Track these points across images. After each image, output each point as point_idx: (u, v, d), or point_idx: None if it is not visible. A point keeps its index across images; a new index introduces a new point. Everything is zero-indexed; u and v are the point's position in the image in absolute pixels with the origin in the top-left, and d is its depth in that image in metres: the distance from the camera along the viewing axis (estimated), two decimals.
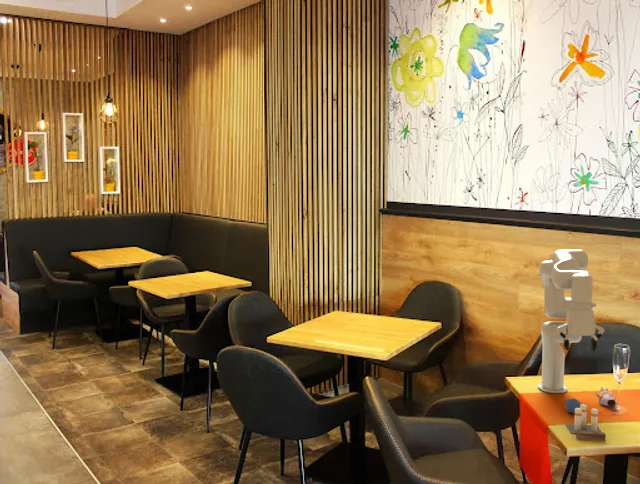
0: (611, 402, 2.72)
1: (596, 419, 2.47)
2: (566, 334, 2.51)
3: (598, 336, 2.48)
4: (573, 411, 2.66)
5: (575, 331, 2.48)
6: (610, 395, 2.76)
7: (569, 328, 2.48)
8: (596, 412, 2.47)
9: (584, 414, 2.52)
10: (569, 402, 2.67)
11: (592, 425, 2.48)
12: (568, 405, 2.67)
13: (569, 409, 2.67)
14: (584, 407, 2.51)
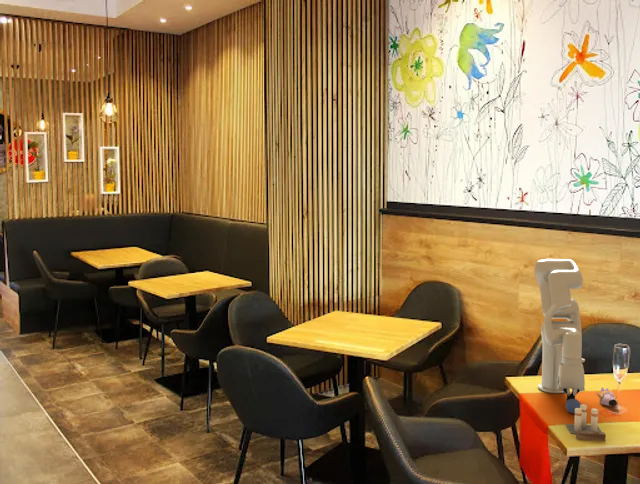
0: (612, 402, 2.71)
1: (596, 419, 2.47)
2: None
3: None
4: (573, 411, 2.66)
5: (566, 384, 2.70)
6: (611, 395, 2.76)
7: (561, 381, 2.71)
8: (596, 412, 2.47)
9: (584, 414, 2.52)
10: (569, 402, 2.67)
11: (592, 425, 2.48)
12: (568, 405, 2.67)
13: (569, 409, 2.67)
14: (584, 407, 2.51)
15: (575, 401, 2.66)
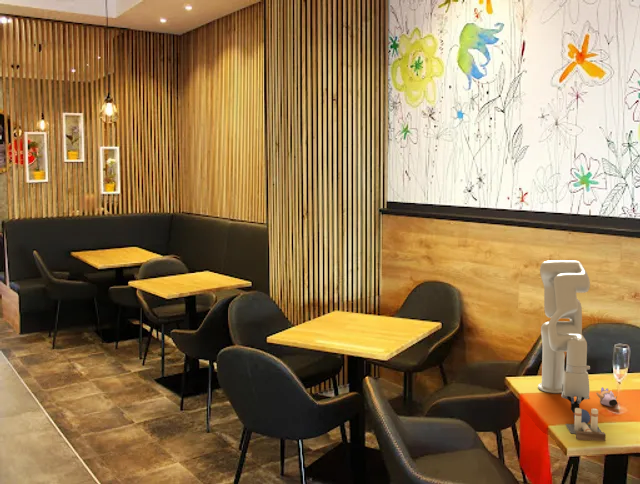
0: (613, 402, 2.71)
1: (596, 419, 2.47)
2: None
3: (581, 399, 2.64)
4: None
5: (570, 392, 2.63)
6: (611, 395, 2.75)
7: (565, 389, 2.63)
8: (596, 412, 2.47)
9: None
10: None
11: (592, 425, 2.48)
12: None
13: None
14: None
15: None
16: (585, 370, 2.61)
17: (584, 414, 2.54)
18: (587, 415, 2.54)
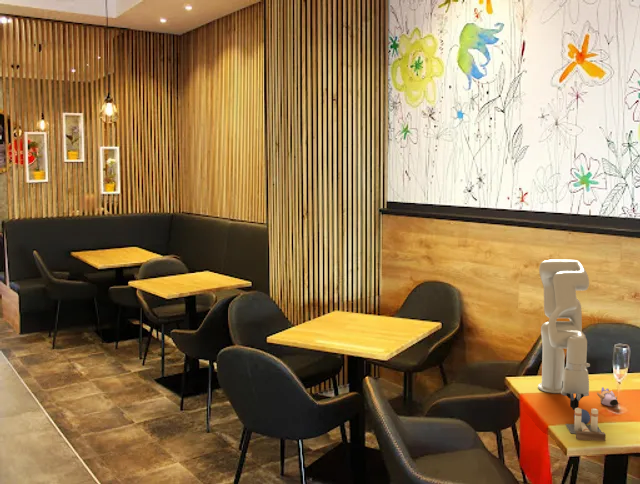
0: (614, 402, 2.71)
1: (596, 419, 2.47)
2: None
3: None
4: None
5: (570, 389, 2.63)
6: (612, 395, 2.75)
7: (564, 387, 2.64)
8: (596, 412, 2.47)
9: None
10: None
11: (592, 425, 2.48)
12: None
13: None
14: None
15: None
16: (585, 367, 2.61)
17: (584, 414, 2.54)
18: (587, 415, 2.54)
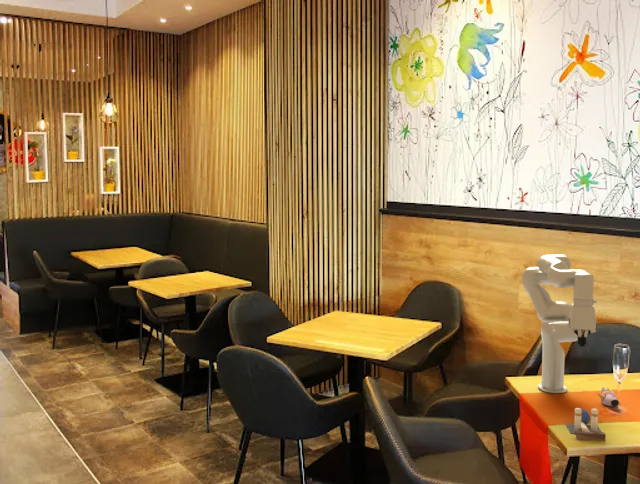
0: (615, 402, 2.71)
1: (596, 419, 2.47)
2: None
3: (587, 333, 2.69)
4: None
5: (577, 326, 2.68)
6: (613, 395, 2.75)
7: (572, 323, 2.68)
8: (596, 412, 2.47)
9: None
10: None
11: (592, 425, 2.48)
12: None
13: None
14: None
15: None
16: (592, 303, 2.66)
17: (584, 414, 2.54)
18: (587, 415, 2.54)
